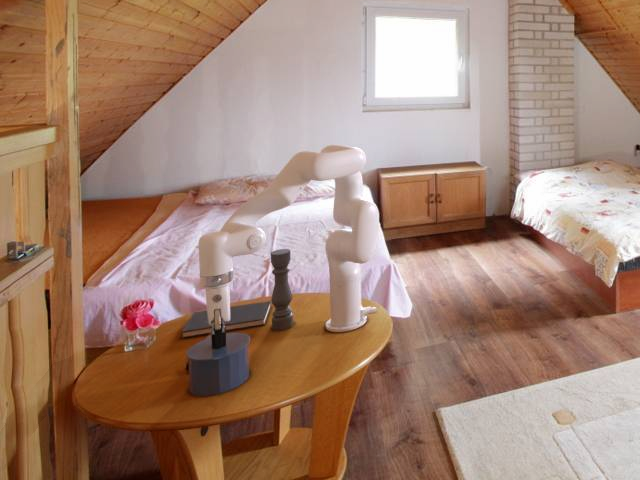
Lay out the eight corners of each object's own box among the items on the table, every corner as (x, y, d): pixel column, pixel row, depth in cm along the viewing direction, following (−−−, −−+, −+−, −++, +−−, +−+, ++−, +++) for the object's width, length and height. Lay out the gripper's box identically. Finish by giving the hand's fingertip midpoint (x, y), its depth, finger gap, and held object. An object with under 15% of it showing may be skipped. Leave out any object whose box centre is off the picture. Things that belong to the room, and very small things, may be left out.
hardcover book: (264, 325, 191) (264, 318, 191) (181, 338, 182) (181, 331, 182) (271, 306, 206) (271, 300, 206) (194, 318, 197) (194, 311, 197)
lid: (249, 332, 168) (249, 311, 168) (251, 353, 155) (250, 330, 155) (188, 346, 160) (187, 324, 160) (184, 369, 148) (183, 346, 147)
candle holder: (297, 323, 193) (295, 249, 192) (281, 331, 187) (279, 255, 186) (283, 320, 195) (281, 247, 194) (267, 329, 189) (265, 253, 188)
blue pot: (248, 363, 167) (247, 331, 167) (249, 385, 156) (248, 351, 155) (191, 377, 160) (189, 344, 160) (188, 402, 148) (186, 366, 148)
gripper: (233, 285, 152) (235, 353, 153) (232, 266, 166) (235, 329, 166) (198, 291, 148) (201, 361, 149) (201, 272, 162) (203, 336, 162)
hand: (219, 343), depth 158 cm, fingers closed on lid, 2 cm apart
